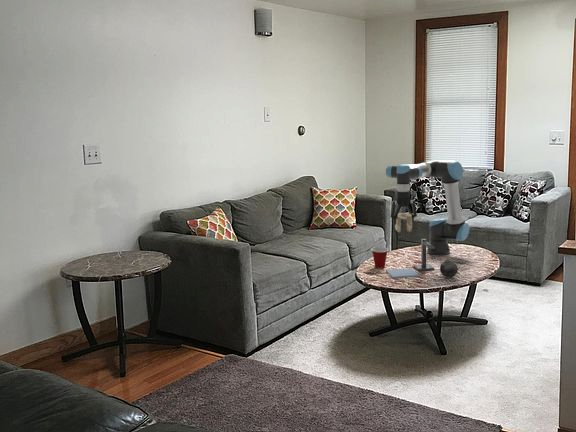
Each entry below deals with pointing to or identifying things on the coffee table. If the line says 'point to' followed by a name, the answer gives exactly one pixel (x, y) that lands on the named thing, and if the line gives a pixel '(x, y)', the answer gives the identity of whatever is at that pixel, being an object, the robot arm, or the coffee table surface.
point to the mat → (402, 273)
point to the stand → (424, 257)
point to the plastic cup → (379, 256)
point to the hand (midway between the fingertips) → (403, 229)
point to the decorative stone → (448, 269)
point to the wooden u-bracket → (409, 221)
